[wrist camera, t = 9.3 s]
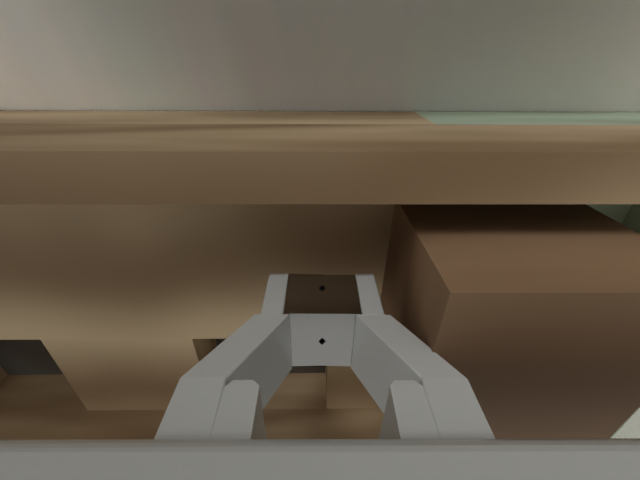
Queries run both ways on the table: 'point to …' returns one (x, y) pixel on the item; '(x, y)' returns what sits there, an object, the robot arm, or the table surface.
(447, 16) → the table surface
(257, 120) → the trap lane
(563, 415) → the walnut block
